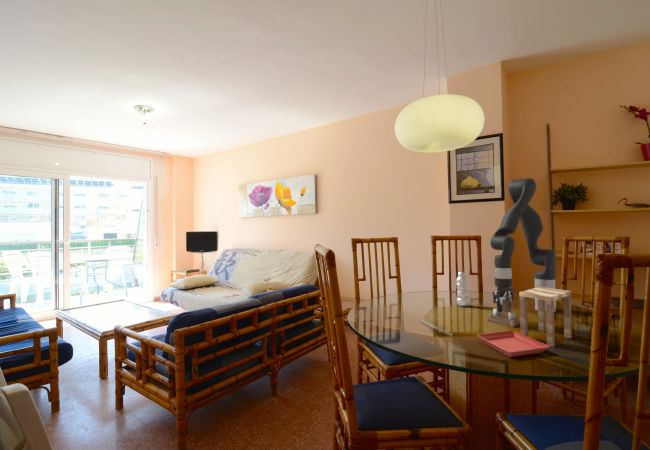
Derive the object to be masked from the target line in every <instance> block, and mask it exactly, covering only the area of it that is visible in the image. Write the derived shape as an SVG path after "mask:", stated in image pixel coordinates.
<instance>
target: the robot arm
mask: <svg viewBox="0 0 650 450" xmlns="http://www.w3.org/2000/svg"><path fill="white" fill-rule="evenodd" d="M507 188H508V193H509V196H510V198H511V201H512V203H513V206H511V207H510V209H508V210H507V211H506V212H505V214H504V215H503V217H502V219H501V223H500V225H499V227H498V228H497V229H496V231H494V233H493V235H491V238H490V241H489V245H490V247H491V248H492V249H493V250H496V251H502V253H501V254H497V255H495V256H494V271H493V272H494V273H493V274H494V286H495V287H496V288H497V289H496V290H492V291H493V292H492V295H493V297H492V298H493V304H496V309H497V311H498V312H502V302H503V300H509V305H510V310H512V302H513V300H515V299H514V298H515V297H514V296H515V293H514V292H515V291H514V289H515V288H514V287H513V271H512V256H513V254H514V251H515V247H516V244H515V243H516V242H515V239H514V238H513V237H512V236H510V235H513V234H514V233H515V232H516V230H517V229H518V225H519V223H520V225H521V228H522V232H523V235H524V237H525V241H526V244H527V249H528V255H529V260H530V261H531V263H532V264H533V265H534V266H541V267H545V268H544V269H543V270H541V271H536V272H535V273H534V276H533V277H534V288H537V287H545V288H552V289H556V275H557V274H556V272H557V270H556V269H557V268H556V267H557V254H556V252H555V250H554V249H551V248H540V247H539V246H538V245H539V244H538V242H539V241H538V240H539V238H540V237H541V235H542V232H543V231H544V225H543V222H542V218H541V216H540V214H539V213H538V212H537V211H536V210H535V209H534V208H533V207H532V206H531V205H529V204H530V202H531V201H532V199H533V197H534V195H535V193H536V190H537V182H536V181H535V179H534V178H529V177H528V178H526V177H525V178H517V179H511V180H510V181H509V183H508V186H507ZM556 304H557V300H554V313H555V312H557V305H556ZM534 309H535V311H538V299H535V298H534ZM545 313H546V300H545Z"/></svg>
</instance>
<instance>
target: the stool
mask: <svg viewBox="0 0 650 450" xmlns="http://www.w3.org/2000/svg"><path fill="white" fill-rule="evenodd" d="M518 293H519V295H518V296H519V299H518V300H519V317H520V325H519V333H520V334H523V335H525V336H527V337H529V331H528V330H529V328H528V326H529V325H528V298H530V299H534V300H535V299H538V310H537V324H538V325H537V327H538V330H539V331H538V332H542V333H544V332H546V333H545V334H546V336H545V337H546V345H548V346H549V347H551V348H554V347H556V341H555V339H556V338H555V334H556V333H555V312H554V300H556V301H557V300H559V299H562V298H563V299H562V301H563V302H562V303H563V305H562V306H563V337H564V338H566V339H572V338H573V329H572V327H573V325H572V324H573V323H572V321H573V320H572V291H571V290H566V289H559V288H558V289H557V288H555V289H552V288H545V287H537V288H535V287H533V288H529V289H527V290H523V291H519V292H518ZM545 300H546V312H545Z"/></svg>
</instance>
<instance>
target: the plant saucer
mask: <svg viewBox="0 0 650 450" xmlns="http://www.w3.org/2000/svg"><path fill="white" fill-rule="evenodd" d="M476 336H477V337H478V339H479V340H480V341H481V342H482V344H485V345H487V346H489V347H490V348H492V349H493V350H495V351H498V352H499V353H501V354H503V355H505V356H507V357H509V358H514V357H520V356H526V355H535V354H541V353H544V352H545V351H546V350H548V349H549V348H550V346H548V345H547V343H546V344H545V343H543V342H542V341H538V340H536V339H535V338H532V337H530V336H528V337H527V336H525V335H523V334H520V332H518V331H515V330H505V331H504V330H503V331H497V332H496V331H495V332H487V333H478V334H477V335H476Z"/></svg>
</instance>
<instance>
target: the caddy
mask: <svg viewBox="0 0 650 450" xmlns="http://www.w3.org/2000/svg"><path fill="white" fill-rule="evenodd" d="M510 310H511V309H510V305H509V300H505V299H504V300H503V302H502V312H498V311H497V308H493V309H492V313H489V314H487V322H491V323H495V324H498V325H501V326H507V327H509V326H511V327H510V328H514V326H515V327H517V326H520V325H519V324H520V316H517V313H516V312H514V311H510ZM516 325H517V326H516Z"/></svg>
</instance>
